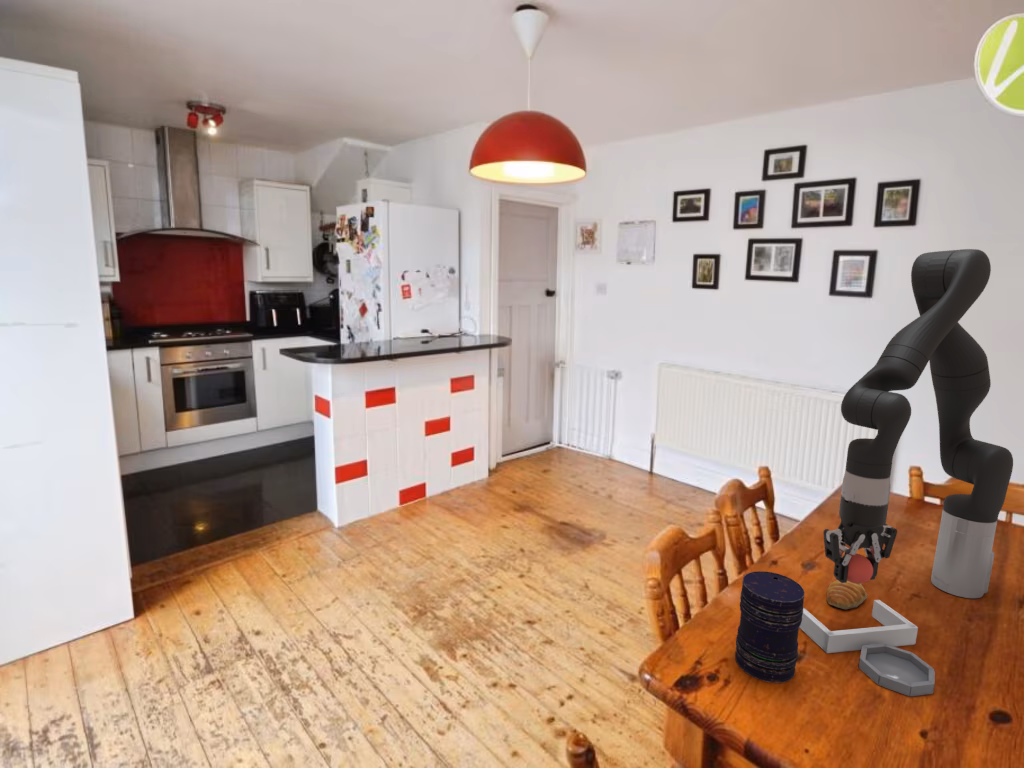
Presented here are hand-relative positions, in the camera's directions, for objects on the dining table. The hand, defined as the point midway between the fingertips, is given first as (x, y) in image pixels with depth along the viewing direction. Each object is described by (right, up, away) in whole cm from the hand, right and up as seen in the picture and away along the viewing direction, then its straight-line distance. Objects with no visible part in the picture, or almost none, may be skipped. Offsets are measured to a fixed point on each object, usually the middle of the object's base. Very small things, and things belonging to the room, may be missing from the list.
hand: (854, 578), depth 109 cm
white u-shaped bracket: (0, -10, 0) cm, 10 cm away
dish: (+1, -13, -11) cm, 17 cm away
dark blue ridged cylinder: (-21, -12, -9) cm, 26 cm away
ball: (0, -1, 0) cm, 1 cm away
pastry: (+5, -9, +12) cm, 15 cm away
